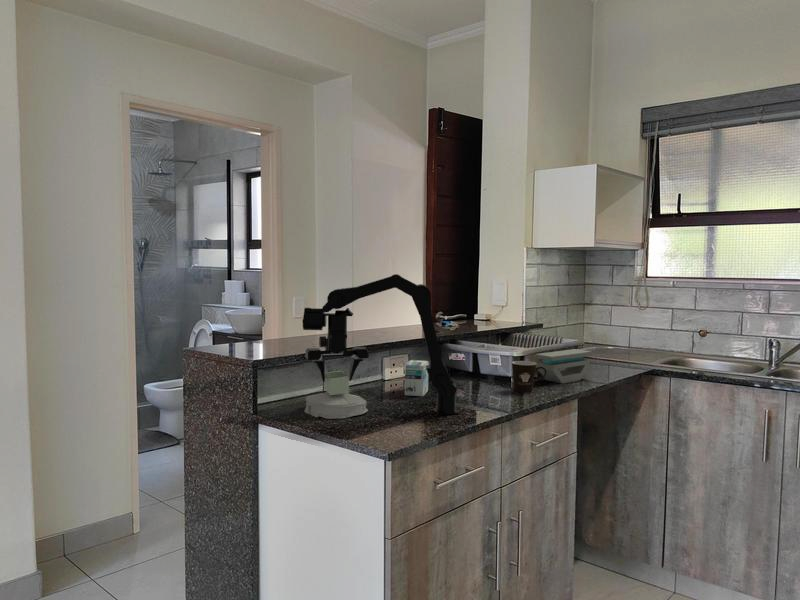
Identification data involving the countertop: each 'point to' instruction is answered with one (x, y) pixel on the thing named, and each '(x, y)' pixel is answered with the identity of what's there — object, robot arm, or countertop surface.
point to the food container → (335, 405)
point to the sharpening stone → (564, 365)
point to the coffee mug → (524, 375)
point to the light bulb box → (416, 378)
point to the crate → (336, 383)
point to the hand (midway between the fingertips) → (336, 381)
